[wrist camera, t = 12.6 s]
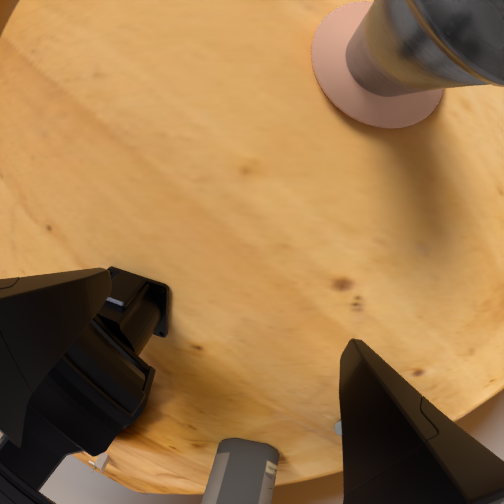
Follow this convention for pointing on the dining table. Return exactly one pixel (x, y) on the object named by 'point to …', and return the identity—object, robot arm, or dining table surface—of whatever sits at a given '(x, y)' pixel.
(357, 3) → the soap bar
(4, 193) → the dining table surface
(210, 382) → the dining table surface
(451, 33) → the canister
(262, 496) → the liquor
